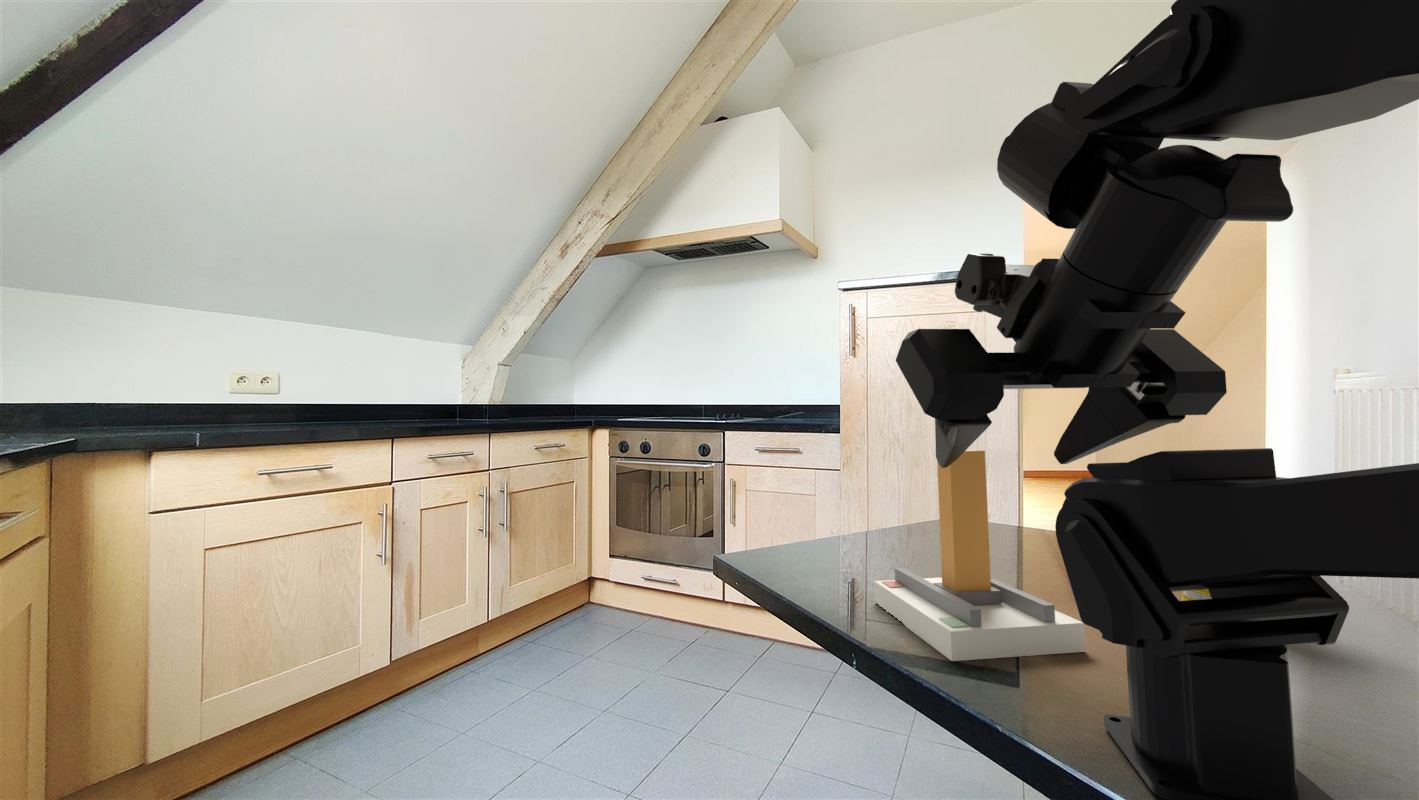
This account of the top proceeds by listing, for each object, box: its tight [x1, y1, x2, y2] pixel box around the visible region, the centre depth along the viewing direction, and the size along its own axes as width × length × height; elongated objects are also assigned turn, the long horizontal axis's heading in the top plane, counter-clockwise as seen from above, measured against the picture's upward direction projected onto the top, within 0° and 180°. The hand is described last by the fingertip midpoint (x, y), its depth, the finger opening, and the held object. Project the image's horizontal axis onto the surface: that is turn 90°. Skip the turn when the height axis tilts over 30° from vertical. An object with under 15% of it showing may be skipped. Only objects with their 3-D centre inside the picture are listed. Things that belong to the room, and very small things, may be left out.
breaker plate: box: [873, 567, 1086, 662], centre depth 45 cm, size 13×10×3 cm
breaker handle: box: [933, 449, 1001, 605], centre depth 46 cm, size 3×4×12 cm
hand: (1000, 461), depth 41 cm, fingers open, 9 cm apart
